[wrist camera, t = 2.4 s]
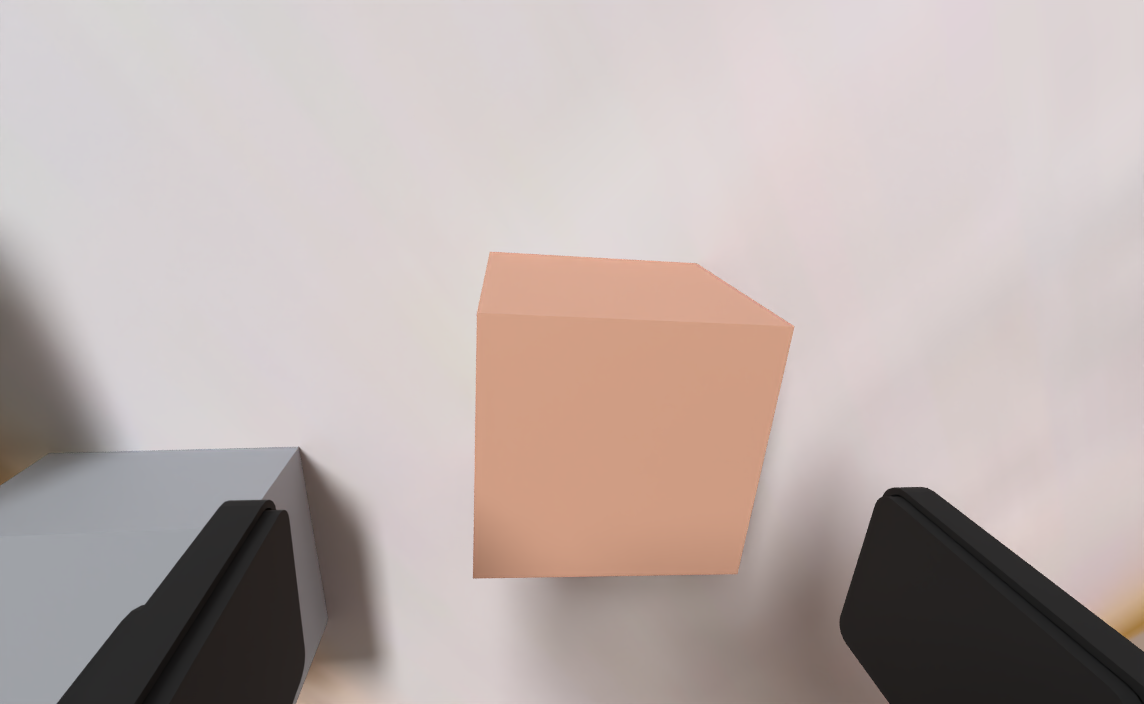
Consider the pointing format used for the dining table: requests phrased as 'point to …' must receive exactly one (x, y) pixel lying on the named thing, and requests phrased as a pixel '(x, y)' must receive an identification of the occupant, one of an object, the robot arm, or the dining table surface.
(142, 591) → the slate-grey block
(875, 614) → the robot arm
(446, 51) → the dining table surface
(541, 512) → the terracotta cube
